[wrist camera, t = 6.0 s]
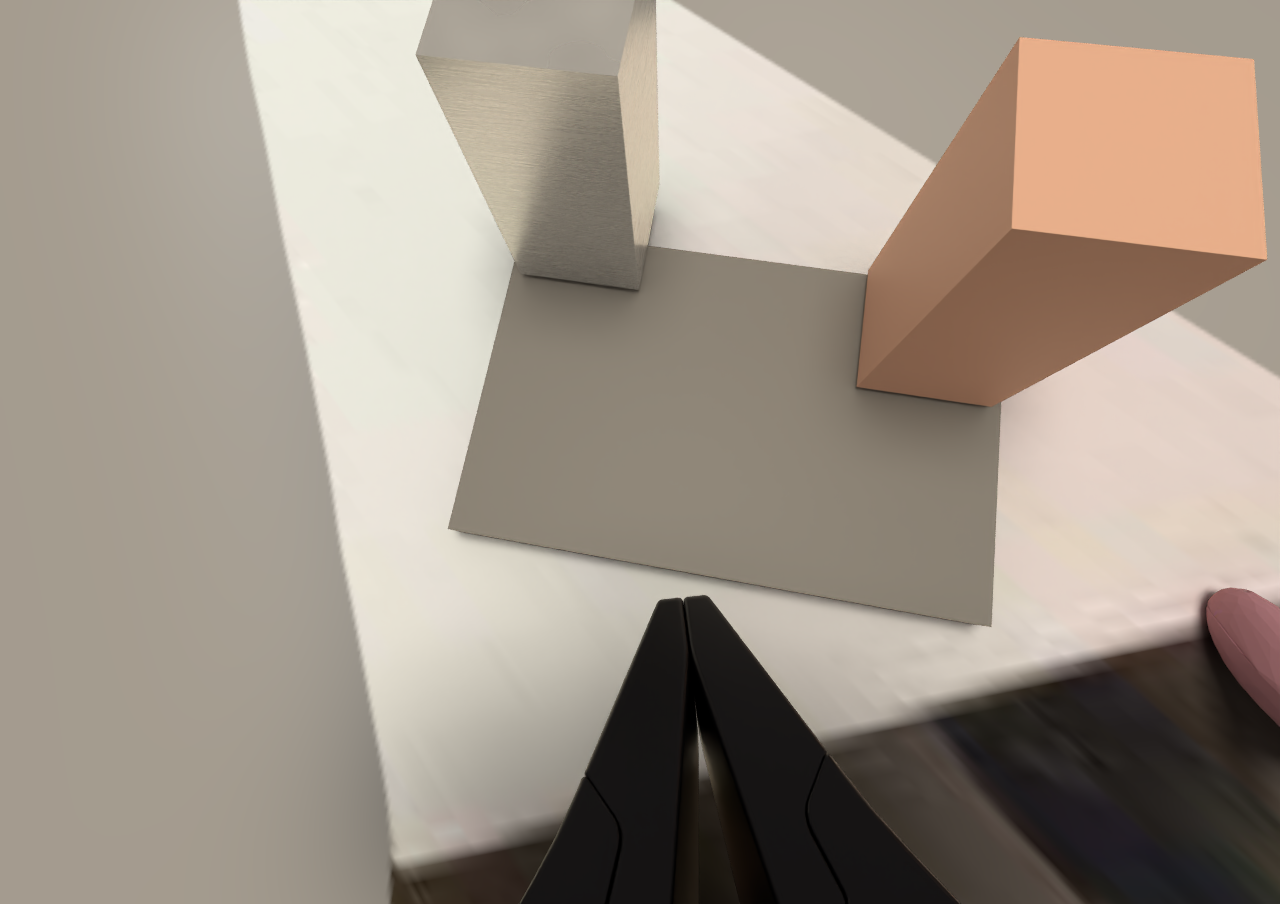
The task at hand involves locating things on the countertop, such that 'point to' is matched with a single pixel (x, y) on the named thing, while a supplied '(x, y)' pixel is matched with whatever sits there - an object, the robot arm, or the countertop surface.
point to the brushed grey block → (555, 125)
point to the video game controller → (1249, 643)
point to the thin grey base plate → (729, 439)
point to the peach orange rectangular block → (1066, 218)
